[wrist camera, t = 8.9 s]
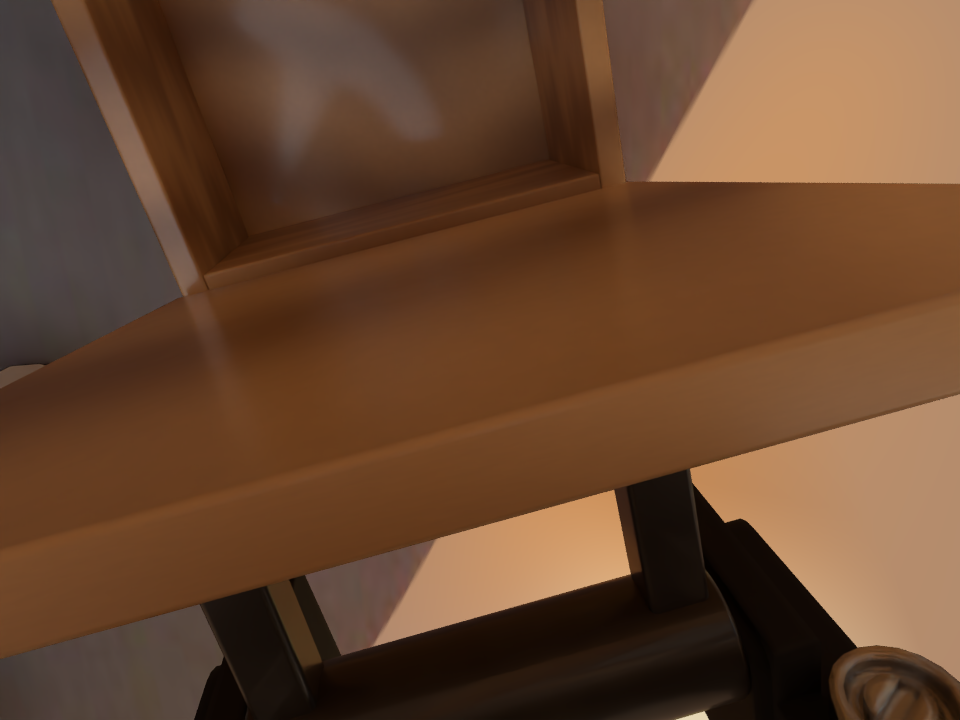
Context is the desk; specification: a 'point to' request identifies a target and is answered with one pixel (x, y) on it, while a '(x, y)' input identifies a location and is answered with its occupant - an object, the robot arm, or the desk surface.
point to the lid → (472, 436)
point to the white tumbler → (16, 373)
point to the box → (343, 119)
